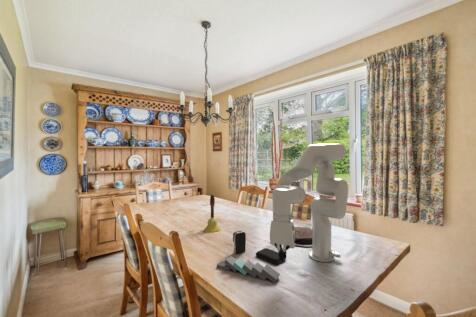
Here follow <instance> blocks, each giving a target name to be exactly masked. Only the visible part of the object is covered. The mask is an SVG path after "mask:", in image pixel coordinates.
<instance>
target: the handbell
mask: <svg viewBox="0 0 476 317" xmlns="http://www.w3.org/2000/svg"><path fill="white" fill-rule="evenodd" d="M215 202H216V201H215V195H214V194H211V195H210V198H209V206H210V218H208V220H207V225H206V226H205V228H204V229H203V231H204V232H205V233H209V234H211V233H212V234H213V233H218V232H220V231H222V229H221V227H219V226H218V221H217V219H216V218H215V211H214V210H215V209H214V208H215V205H216V203H215Z"/></svg>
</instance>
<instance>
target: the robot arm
mask: <svg viewBox="0 0 476 317" xmlns="http://www.w3.org/2000/svg"><path fill="white" fill-rule="evenodd" d="M346 154H347V150H346V147H345V145H344V144H342V143H316V144H315V143H314V144H313V143H312V144H309V145H307V146H306V147H305V149H304V151H303V152H302V154H301V155H300V158H299V159H298V162H297V163H296V165H295V166H294V167H292V168H290V169H289V170H287V171H286V172H284V173H283V174H282V175H281V176H280V178H279V179H278V181H277V183H276V184H275V187H274V189H273V190H272V194H271V196H272V219H271V222H270V227H269V240H270V242H269V244H270V245H272V246H274V247H275V248H276V249H277V252H278V253H279V257H280V260H282V261H283V262H285V260H284V259H286V260H287V251H288V250H289V249H294V248H295V247H296V246H295V244H294V242H295V231H294V227H295V225H294V221H293V220H294V219H295V215H292V212H291V207H292V206H291V205H298V204H302V202H304V201H305V199H306V195H307V194H306V191H305V189H304V188H303V187H301V186H299V185H292V184H293V183H295V182H297V181H301V180H303V179H306V178H309V177H311V176H312V175H313V174H314V172H315V171H316V167H317V176H316V186H315V190H316V193H317V194H319V195H322V196H329V197H334V198H328V197H321V196H320V197H319V196H318V197H314V198H312V199H311V201H310V212H311V218H312V219H311V220H312V223H311V224H312V226H311V227H312V228H311V229H312V247H311V251H309V253H308V255H309V257H310V258H311V259H312V260H314V261H317V262H322V263H331V262H333V261H334V260H335V258H341V253H339V252H338V251H334V250H333V247H332V222H331V220H330V218H331V219H336V220H342V219H344V218H345V216H346V214H347V207H348V198H349V184H348V181H347V180H346V179H343V178H337V177H335V175H336V168H335V166H334V164H333V163H332V162H337V161H342V160H343V159H344V158H345V156H346Z"/></svg>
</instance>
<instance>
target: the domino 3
mask: <svg viewBox="0 0 476 317" xmlns="http://www.w3.org/2000/svg"><path fill="white" fill-rule="evenodd" d="M236 260H237V261H235V262H234V264H233V266H234V267H235V268H236V269H237V270H238V271H239V272H240V273H241V274H242V275H244V276H246V275H247V274H249V273H248V272H246V271H245V270H244V269H243V268H242V267H243V265H244V264H245V263H246V262H245V261H244V260H242V258H238V259H236ZM238 271H237V272H238Z"/></svg>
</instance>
